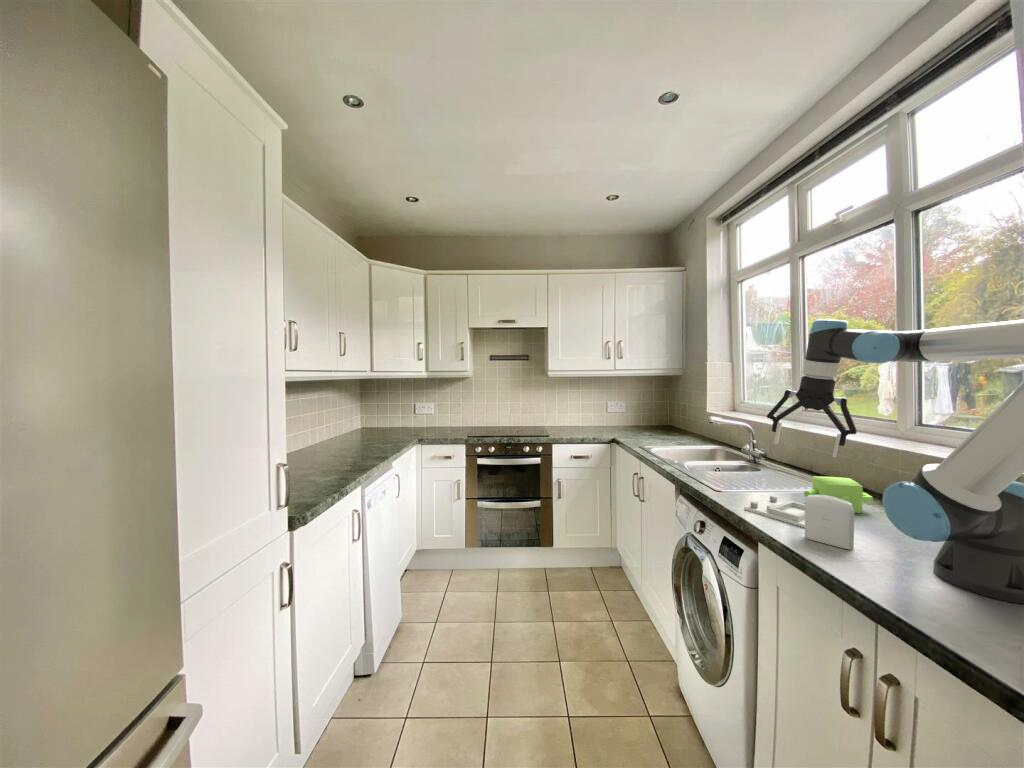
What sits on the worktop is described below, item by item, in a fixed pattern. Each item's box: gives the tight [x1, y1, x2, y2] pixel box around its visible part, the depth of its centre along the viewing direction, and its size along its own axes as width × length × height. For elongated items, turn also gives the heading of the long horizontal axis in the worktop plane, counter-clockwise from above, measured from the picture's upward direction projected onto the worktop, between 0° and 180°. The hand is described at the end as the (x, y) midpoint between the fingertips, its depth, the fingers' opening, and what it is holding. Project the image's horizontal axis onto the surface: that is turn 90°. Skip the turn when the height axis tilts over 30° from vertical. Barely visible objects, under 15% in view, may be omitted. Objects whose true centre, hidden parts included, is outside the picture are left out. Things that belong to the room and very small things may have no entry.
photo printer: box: [804, 495, 855, 551], centre depth 103 cm, size 10×4×12 cm, turn 39°
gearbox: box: [803, 475, 874, 514], centre depth 130 cm, size 18×10×10 cm, turn 73°
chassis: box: [743, 496, 805, 529], centre depth 122 cm, size 22×16×2 cm
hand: (804, 449), depth 112 cm, fingers open, 13 cm apart
